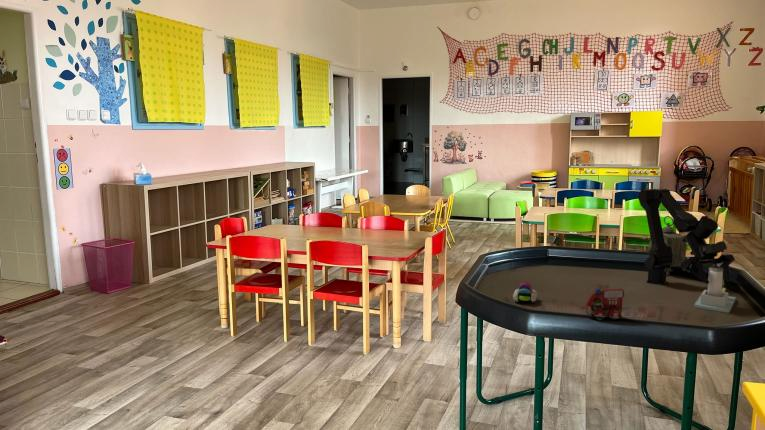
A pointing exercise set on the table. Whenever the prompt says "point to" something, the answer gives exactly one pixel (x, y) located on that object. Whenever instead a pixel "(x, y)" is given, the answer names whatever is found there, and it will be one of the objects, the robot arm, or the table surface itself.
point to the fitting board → (715, 302)
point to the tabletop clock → (673, 245)
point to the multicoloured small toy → (525, 292)
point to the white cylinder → (715, 281)
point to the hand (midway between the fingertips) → (718, 282)
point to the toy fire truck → (605, 302)
